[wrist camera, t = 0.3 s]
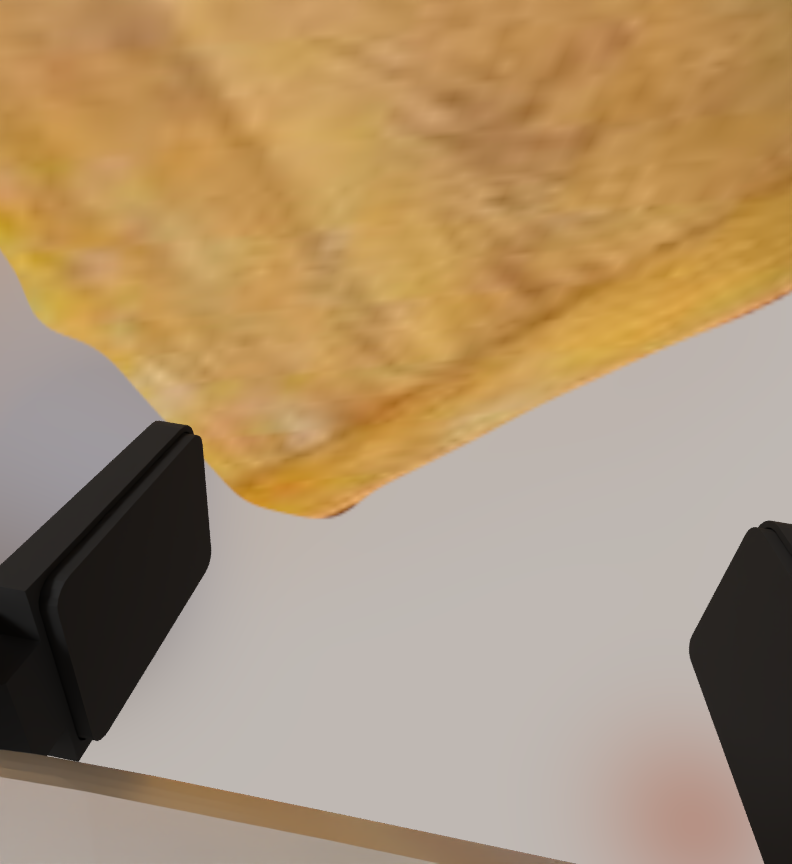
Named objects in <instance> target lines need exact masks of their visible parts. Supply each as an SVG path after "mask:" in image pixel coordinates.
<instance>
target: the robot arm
mask: <svg viewBox="0 0 792 864" xmlns="http://www.w3.org/2000/svg"><path fill="white" fill-rule="evenodd" d="M210 558H211V543H210V530H209V517H208V506H207V493H206V481H205V468H204V456H203V444H202V439H201V437H200V436H198V435H194V433H193V430H192V428H191V427H190V426H188V425H182V424H176V423H170V422H164V421H155V422H153V423H152V424H151V425H150V426H149V427H147V428H146V429H145V431H143V432H142V433H141V434H140V435H139V436H138V437H137V438H136V439H135V440H134V441H133V442H131V444H129V445H128V446H127V447H126V448H125V449H124V450H123V451H122V452H121V453H120V454H119V455H118V456H117V457H116V458H115V459H114V460H112V461H111V462H110V463H109V464H108V465H107V466H106V467H105V468H104V469H103V470H102V471H100V473H98V474H97V475H96V476H95V477H94V478H93V479H92V480H91V481H90V482H89V483H88V484H87V485H86V486H84V487H83V488H82V489H81V490H80V491H79V492H78V493H77V494H76V495H75V496H74V497H73V498H72V499H71V500H70V501H68V502H67V503H66V504H65V505H64V506H63V507H62V508H61V509H60V510H59V511H58V512H57V513H56V514H55V515H54V516H52V517H51V518H50V519H49V520H48V521H47V522H46V523H45V524H44V525H43V526H42V527H41V528H40V529H39V530H37V532H35V533H34V534H33V535H32V536H31V537H30V538H29V539H28V540H27V541H26V542H25V543H24V544H23V545H21V546H20V548H18V549H17V550H16V551H15V552H14V553H13V554H12V555H11V556H10V557H9V558H8V559H7V560H5V561H4V562H3V563H2V564H1V565H0V864H575V863H570V862H565V861H560V860H555V859H551V858H546V857H541V856H537V855H531V854H527V853H522V852H518V851H513V850H508V849H503V848H499V847H494V846H489V845H484V844H479V843H475V842H470V841H465V840H460V839H456V838H451V837H447V836H442V835H437V834H432V833H428V832H423V831H418V830H413V829H408V828H403V827H398V826H394V825H389V824H385V823H380V822H374V821H370V820H366V819H361V818H356V817H351V816H346V815H341V814H336V813H332V812H327V811H322V810H317V809H312V808H307V807H303V806H297V805H292V804H288V803H283V802H278V801H273V800H268V799H263V798H259V797H254V796H249V795H244V794H239V793H234V792H229V791H224V790H220V789H214V788H210V787H204V786H199V785H195V784H190V783H185V782H180V781H176V780H171V779H166V778H161V777H156V776H151V775H145V774H140V773H135V772H129V771H124V770H119V769H113V768H108V767H102V766H97V765H91V764H86V763H81V762H79V760H80V758H81V757H82V755H83V754H84V752H85V751H86V749H87V747H88V746H89V744H90V743H91V741H92V740H95V741H98V740H101V739H102V738H103V737H104V736H105V735H106V733H107V732H108V731H109V729H110V727H111V726H112V724H113V723H114V721H115V719H116V718H117V716H118V714H119V713H120V711H121V709H122V708H123V706H124V704H125V703H126V701H127V699H128V698H129V696H130V695H131V693H132V691H133V690H134V688H135V687H136V685H137V683H138V682H139V680H140V678H141V677H142V675H143V674H144V672H145V670H146V669H147V667H148V665H149V664H150V662H151V660H152V659H153V657H154V655H155V654H156V652H157V651H158V649H159V647H160V646H161V644H162V642H163V641H164V639H165V638H166V636H167V634H168V633H169V631H170V629H171V628H172V626H173V624H174V623H175V621H176V620H177V618H178V616H179V615H180V613H181V611H182V610H183V608H184V606H185V605H186V603H187V602H188V600H189V598H190V597H191V595H192V593H193V592H194V590H195V588H196V587H197V585H198V583H199V582H200V580H201V579H202V577H203V575H204V574H205V572H206V570H207V568H208V565H209V562H210ZM689 654H690V659H691V662H692V665H693V668H694V671H695V673H696V676H697V679H698V682H699V684H700V687H701V690H702V693H703V695H704V698H705V701H706V704H707V706H708V709H709V712H710V715H711V718H712V720H713V723H714V726H715V729H716V731H717V734H718V737H719V740H720V742H721V745H722V748H723V751H724V753H725V756H726V759H727V762H728V764H729V767H730V770H731V773H732V775H733V778H734V781H735V784H736V787H737V789H738V792H739V795H740V797H741V800H742V803H743V806H744V809H745V811H746V814H747V817H748V820H749V822H750V825H751V828H752V831H753V833H754V836H755V839H756V842H757V844H758V847H759V850H760V853H761V856H762V858H763V861H764V864H792V524H787V523H781V522H775V521H765V522H763V523H762V524H760V526H759V527H758V528H757V527H753V528H751V529H749V530H748V532H747V533H746V535H745V536H744V538H743V540H742V542H741V544H740V546H739V548H738V550H737V552H736V554H735V555H734V557H733V559H732V561H731V563H730V565H729V567H728V569H727V570H726V572H725V574H724V576H723V578H722V580H721V582H720V584H719V586H718V587H717V589H716V591H715V593H714V595H713V597H712V599H711V601H710V603H709V605H708V607H707V608H706V610H705V612H704V614H703V616H702V618H701V620H700V621H699V623H698V625H697V627H696V629H695V631H694V633H693V635H692V637H691V639H690V645H689ZM47 755H49V756H54V757H58V758H54V757H48V756H47ZM59 758H63V759H59ZM65 759H68V760H65ZM70 760H73V761H70ZM75 761H77V762H75Z"/></svg>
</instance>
